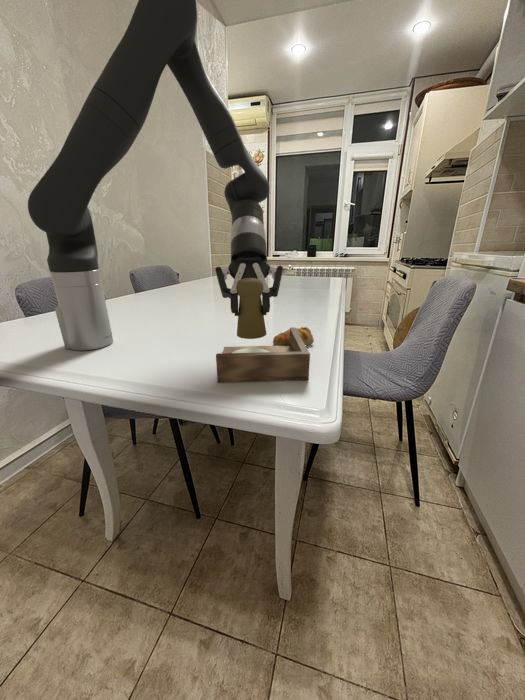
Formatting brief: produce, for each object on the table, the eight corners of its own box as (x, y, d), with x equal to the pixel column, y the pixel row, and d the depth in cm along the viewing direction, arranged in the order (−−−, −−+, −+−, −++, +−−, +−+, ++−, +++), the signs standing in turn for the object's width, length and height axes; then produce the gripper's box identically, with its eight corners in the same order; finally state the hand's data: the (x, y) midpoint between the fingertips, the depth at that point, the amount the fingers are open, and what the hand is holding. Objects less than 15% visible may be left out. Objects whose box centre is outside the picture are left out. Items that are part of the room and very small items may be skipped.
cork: (267, 329, 61) (266, 276, 57) (265, 339, 55) (263, 280, 51) (239, 329, 61) (236, 276, 57) (233, 338, 56) (230, 280, 52)
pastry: (281, 351, 65) (281, 335, 64) (267, 343, 71) (267, 328, 69) (315, 345, 69) (316, 330, 67) (300, 337, 74) (301, 323, 73)
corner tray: (217, 382, 51) (215, 356, 49) (224, 350, 65) (223, 328, 64) (308, 380, 51) (310, 353, 49) (294, 348, 66) (295, 327, 64)
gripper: (212, 231, 58) (209, 303, 51) (283, 230, 59) (290, 301, 52) (216, 257, 65) (215, 324, 58) (280, 256, 65) (286, 322, 59)
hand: (250, 313), depth 55 cm, fingers closed on cork, 4 cm apart
